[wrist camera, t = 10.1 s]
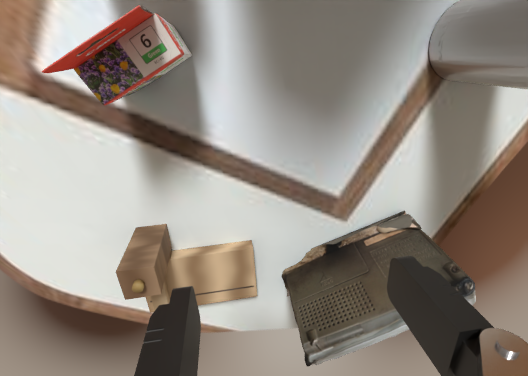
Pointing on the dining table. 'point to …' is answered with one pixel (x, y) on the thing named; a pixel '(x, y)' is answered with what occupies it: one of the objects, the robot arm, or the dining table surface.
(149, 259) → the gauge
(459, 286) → the radio
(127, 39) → the ink box
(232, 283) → the board
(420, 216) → the dining table surface
